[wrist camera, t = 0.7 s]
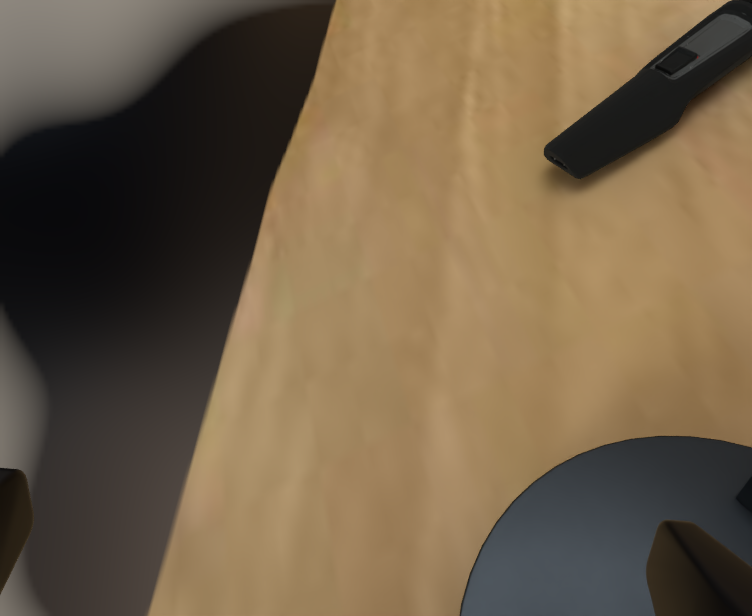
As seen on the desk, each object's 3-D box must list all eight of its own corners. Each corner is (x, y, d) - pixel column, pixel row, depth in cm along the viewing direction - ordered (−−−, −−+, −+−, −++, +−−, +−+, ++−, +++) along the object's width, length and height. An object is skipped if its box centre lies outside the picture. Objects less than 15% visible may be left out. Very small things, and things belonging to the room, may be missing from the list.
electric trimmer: (524, 174, 34) (522, 128, 31) (730, 23, 36) (743, -31, 33) (577, 210, 31) (578, 164, 29) (791, 48, 34) (810, -8, 31)
